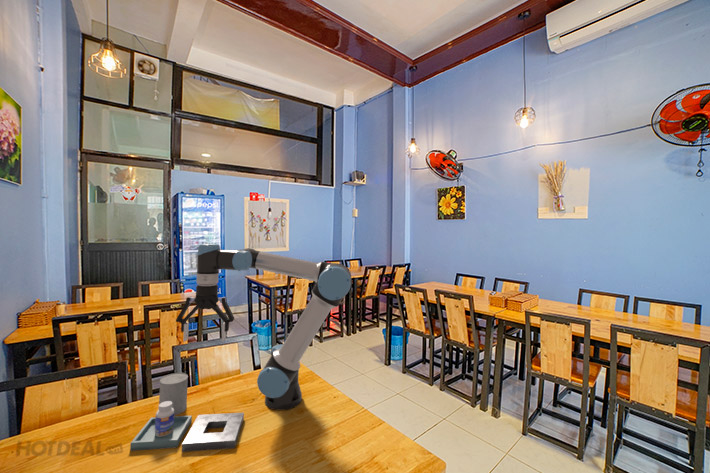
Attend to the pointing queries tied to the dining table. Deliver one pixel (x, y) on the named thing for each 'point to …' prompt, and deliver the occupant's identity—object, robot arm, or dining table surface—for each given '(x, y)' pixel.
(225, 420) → the socket plate
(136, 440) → the tray
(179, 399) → the gray cylinder
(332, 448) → the dining table surface
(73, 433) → the dining table surface
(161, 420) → the pill bottle
